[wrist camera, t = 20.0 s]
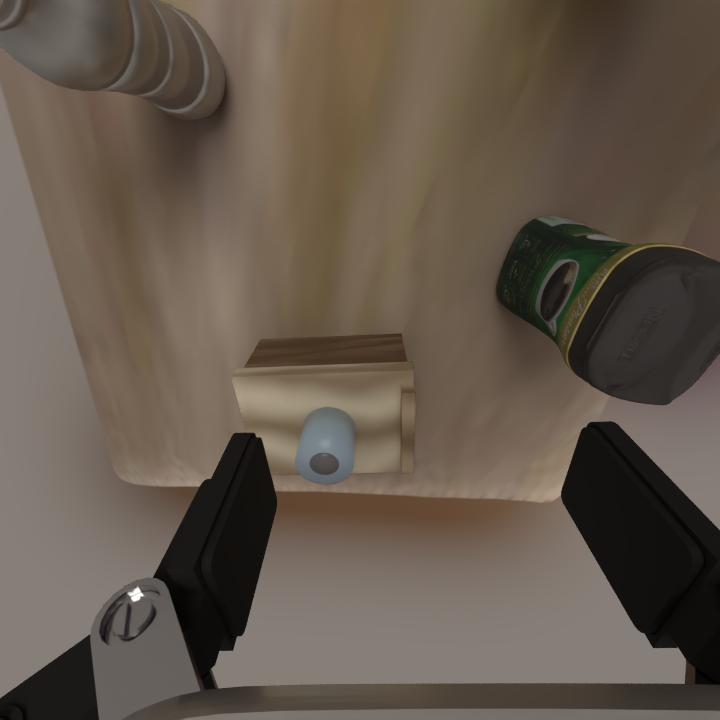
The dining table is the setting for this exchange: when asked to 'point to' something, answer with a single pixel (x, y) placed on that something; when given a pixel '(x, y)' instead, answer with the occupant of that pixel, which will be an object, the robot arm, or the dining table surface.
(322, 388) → the lid
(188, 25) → the plastic bottle
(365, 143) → the dining table surface
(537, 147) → the dining table surface
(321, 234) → the dining table surface
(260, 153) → the dining table surface
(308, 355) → the box
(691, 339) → the coffee jar
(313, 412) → the blue cylinder with recess
